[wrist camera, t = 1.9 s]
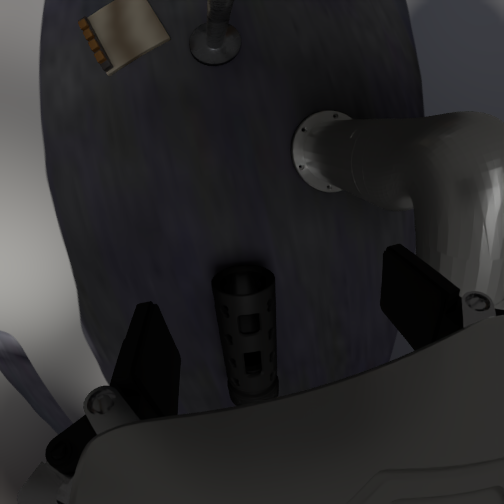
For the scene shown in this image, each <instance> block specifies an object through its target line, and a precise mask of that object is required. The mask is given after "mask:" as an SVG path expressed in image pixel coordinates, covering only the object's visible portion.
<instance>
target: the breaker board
mask: <svg viewBox="0 0 504 504" xmlns="http://www.w3.org/2000/svg"><path fill="white" fill-rule="evenodd" d="M78 24H79V26H80V28H81V29H82V30H83V34H84V36H85V38H86V40H88V42H89V43H88V44H89V46H90V48H91V50H92V51H93V52H94V53H95V54H94V56H95V58H96V59H97V61H98V63H100V65H101V67H102V69H103V70H104V71H106V73H107V75H108V76H111V75H112V74H114V73H115V72H117V71H118V70H120V69H121V68H123V67H124V66H126V65H128V64H129V63H131V62H132V61H134V60H136V59H137V58H139V57H141V56H142V55H144V54H146V53H147V52H149V51H151V50H153V49H154V48H156V47H158V46H160V45H162V44H164V43H166V42H167V41H169V40H171V39H170V37H169V35H168V34H167V32H166V31H165V29H164V27H163V26H162V24H161V22H160V21H159V19H158V17H157V16H156V14H155V13H154V11H153V9H152V8H151V6H150V5H149V3H148V1H147V0H115V1H113V2H111V3H110V4H108V5H106V6H105V7H103V8H102V9H100V10H98V11H97V12H95V13H94V14H92V15H91V16H89V17H88V18H86V17H83V18H82V19H80V20H79V21H78Z"/></svg>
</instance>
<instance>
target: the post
mask: <svg viewBox="0 0 504 504" xmlns="http://www.w3.org/2000/svg"><path fill="white" fill-rule="evenodd" d="M233 2H234V0H208V5H207V23H204V24H202V25H200V26H199V27H198V28H196V29H195V30H194V32H193V33H192V35H191V37H190V41H189V45H190V51H191V54H192V55H193V57H194V58H195V59H196V60H197V61H198V62H200V63H202V64H204V65H208V66H219V65H223V64H226V63H228V62H230V61H231V60H232V59H233V58H234V57H235V56H236V55H237V53H238V51H239V49H240V46H241V37H240V34H239V32H238V31H237V30H236V29H235V28H234V27H233V26H232V25H230V24H228V23H229V19H230V14H231V10H232V6H233Z"/></svg>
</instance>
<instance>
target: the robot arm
mask: <svg viewBox="0 0 504 504" xmlns="http://www.w3.org/2000/svg"><path fill="white" fill-rule="evenodd" d="M333 115H334V116H335V117H333ZM302 128H303V129H304V131H302V130H301V129H302ZM291 157H292V161H293V165H294V167H295V169H296V171H297V173H298V174H299V176H300V177H301V178H302V179H303V180H304V181H305V182H306V183H307V184H308V185H310V186H311V187H313V188H315V189H317V190H320V191H323V192H339V191H342V190H344V191H347V192H349V193H351V194H353V195H355V196H357V197H359V198H361V199H363V200H366V201H368V202H370V203H372V204H374V205H376V206H378V207H380V208H383V209H385V210H389V211H406V210H409V209H412V208H414V219H415V232H416V255H415V254H414V253H412V252H411V251H409V250H408V249H407V248H405V247H404V246H402V245H401V244H396V245H392V246H389V247H387V248H386V251H384V253H383V271H382V287H381V300H380V306H381V309H382V311H383V312H384V314H385V315H386V316H387V317H388V318H389V319H390V321H391V322H392V323H393V324H394V326H395V327H396V328H397V329H398V330H399V332H400V333H401V334H402V335H403V337H405V339H406V340H407V341H408V343H409V344H410V345H411V347H412V348H413V349H414V350H415V351H413V352H411V353H409V354H406V355H404V356H402V357H399V358H397V359H394V360H392V361H390V362H387V363H384V364H382V365H379V366H377V367H374V368H371V369H369V370H366V371H363V372H361V373H358V374H355V375H352V376H349V377H346V378H343V379H340V380H337V381H334V382H331V383H328V384H324V385H321V386H318V387H314V388H311V389H307V390H304V391H300V392H296V393H292V394H288V395H284V396H280V397H276V398H272V399H268V400H263V401H259V402H254V403H249V404H244V405H239V406H233V407H228V408H222V409H216V410H210V411H203V412H197V413H189V414H182V415H177V414H178V395H179V379H180V365H181V358H180V354H179V351H178V349H177V347H176V345H175V343H174V341H173V338H172V336H171V334H170V332H169V330H168V327H167V325H166V323H165V320H164V318H163V316H162V314H161V311H160V309H159V307H158V305H157V304H153V303H152V302H151V301H150V302H145V303H140V304H137V306H136V309H135V312H134V314H133V317H132V320H131V323H130V326H129V329H128V332H127V335H126V338H125V339H124V341H123V344H122V347H121V350H120V353H119V356H118V359H117V362H116V366H115V369H114V372H113V376H112V379H111V383H110V386H101V387H98V388H96V389H94V390H93V391H91V392H90V393H89V394H88V396H87V397H86V398H85V401H84V406H83V408H84V412H85V414H86V415H84V416H83V417H82V418H80V419H79V420H78V421H76V422H75V423H74V424H72V425H71V426H70V427H68V428H67V429H66V430H64V431H63V432H62V433H60V434H59V435H58V436H56V437H55V438H53V439H52V440H51V441H50V443H49V444H48V446H47V448H46V459H47V461H46V463H43V462H41V463H40V464H39V465H38V467H37V468H36V469H35V471H34V472H33V473H32V475H31V476H30V477H29V478H28V480H27V481H26V483H25V484H24V485H23V486H22V488H21V489H20V490H19V492H18V496H17V501H18V504H504V123H503V122H502V121H501V120H499V119H498V118H496V117H494V116H492V115H489V114H486V113H481V112H473V111H465V112H452V113H446V114H440V115H435V116H429V117H420V118H406V119H352V118H351V117H349V116H347V115H346V114H344V113H341V112H338V111H321V112H317V113H314V114H312V115H310V116H309V117H307V118H306V119H304V120H303V121H302V123H301V124H300V125H299V126H298V128H297V129H296V131H295V133H294V136H293V139H292V144H291ZM299 165H301V168H299ZM327 186H329V187H328V188H327Z"/></svg>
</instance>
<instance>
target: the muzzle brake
mask: <svg viewBox="0 0 504 504" xmlns="http://www.w3.org/2000/svg"><path fill="white" fill-rule="evenodd" d="M256 281H260V283H261V286H259V285H258V284H257V283H256ZM225 285H227V287H226V289H225V290H224V286H225ZM212 290H213V296H214V301H215V309H216V315H217V321H218V326H219V333H220V339H221V344H222V349H223V355H224V361H225V366H226V370H227V377H228V390H229V394H230V398H231V400H232V402H233V403H234V404H235V405H236V406H239V405H244V404H249V403H254V402H259V401H263V400H268V399H272V398H276V397H278V392H279V381H278V376H277V342H276V297H275V277H274V274H273V273H272V272H271V271H270V270H268V269H266V268H264V267H261V266H256V265H240V266H233V267H229V268H226V269H224V270H222V271H220V272H219V273H217V274H216V275H215V276H214V277H213V279H212ZM231 337H232V338H231Z"/></svg>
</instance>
